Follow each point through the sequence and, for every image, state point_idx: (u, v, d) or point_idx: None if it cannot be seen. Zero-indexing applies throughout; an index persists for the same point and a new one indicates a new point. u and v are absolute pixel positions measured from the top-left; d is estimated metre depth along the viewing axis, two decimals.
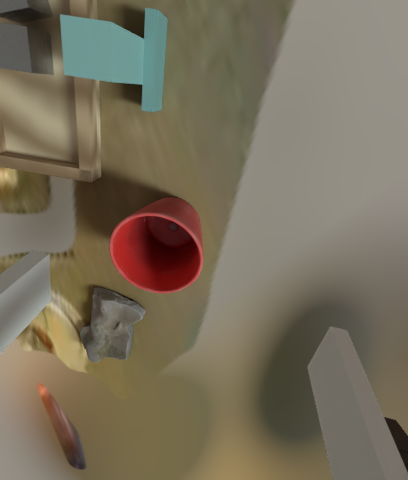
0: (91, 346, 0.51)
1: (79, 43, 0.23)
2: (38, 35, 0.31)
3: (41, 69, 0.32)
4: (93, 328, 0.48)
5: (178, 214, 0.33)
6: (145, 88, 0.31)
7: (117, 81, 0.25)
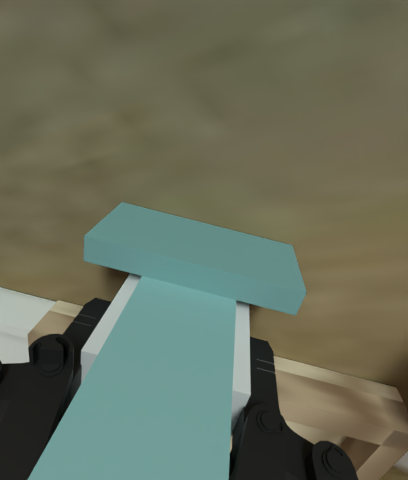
0: None
1: None
2: None
3: None
4: None
5: None
6: (246, 295, 0.12)
7: None
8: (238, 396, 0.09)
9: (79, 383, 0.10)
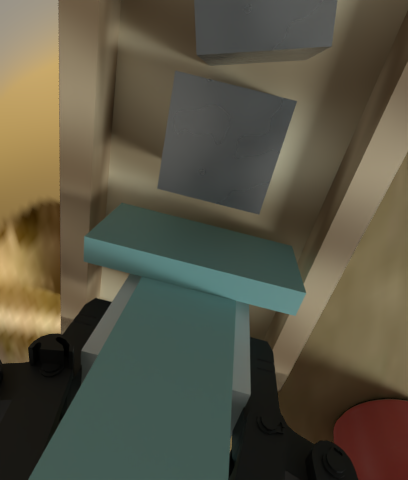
0: None
1: None
2: None
3: None
4: None
5: None
6: (246, 296, 0.12)
7: None
8: (238, 396, 0.09)
9: (79, 383, 0.10)
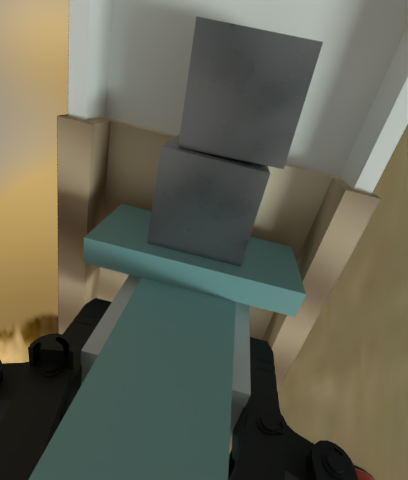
0: None
1: None
2: None
3: None
4: None
5: None
6: (246, 297, 0.12)
7: None
8: (238, 396, 0.09)
9: (79, 383, 0.10)
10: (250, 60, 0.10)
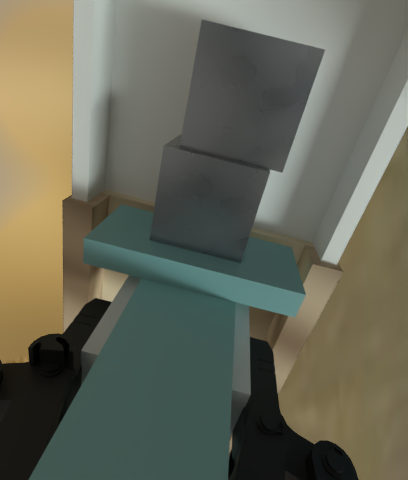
0: None
1: None
2: None
3: None
4: None
5: None
6: (246, 297, 0.12)
7: None
8: (238, 396, 0.09)
9: (79, 383, 0.10)
10: (253, 64, 0.10)
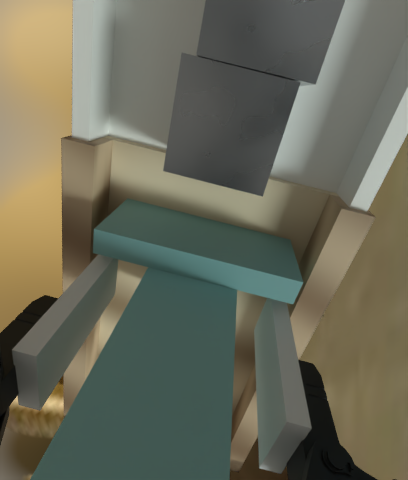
0: None
1: None
2: None
3: None
4: None
5: None
6: (246, 285, 0.13)
7: (226, 465, 0.07)
8: (297, 429, 0.09)
9: (14, 384, 0.09)
10: None
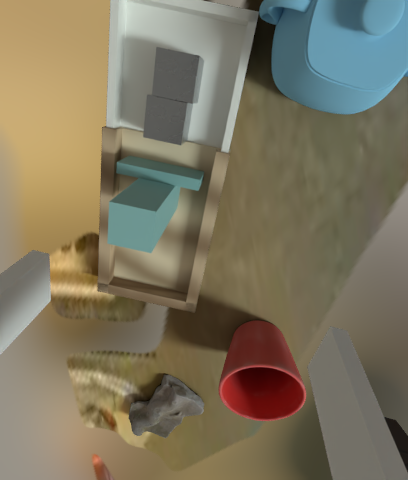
0: (142, 424, 0.53)
1: (126, 233, 0.26)
2: (189, 107, 0.30)
3: (184, 139, 0.32)
4: (154, 412, 0.51)
5: (285, 360, 0.37)
6: (178, 183, 0.31)
7: (158, 206, 0.25)
8: None
9: None
10: (175, 61, 0.27)
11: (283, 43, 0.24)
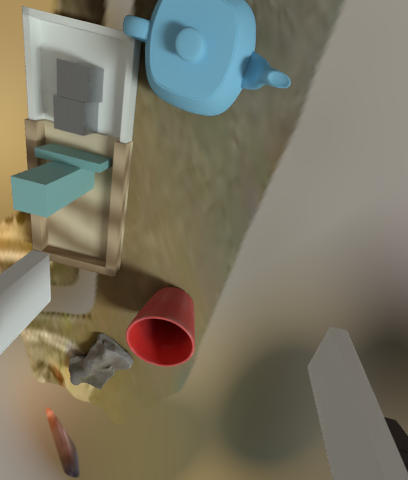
0: (78, 374, 0.61)
1: (26, 201, 0.34)
2: (91, 106, 0.38)
3: (89, 131, 0.39)
4: (88, 364, 0.60)
5: (178, 315, 0.45)
6: (84, 166, 0.39)
7: (51, 181, 0.33)
8: None
9: None
10: (72, 70, 0.35)
11: (145, 60, 0.32)
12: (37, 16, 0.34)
